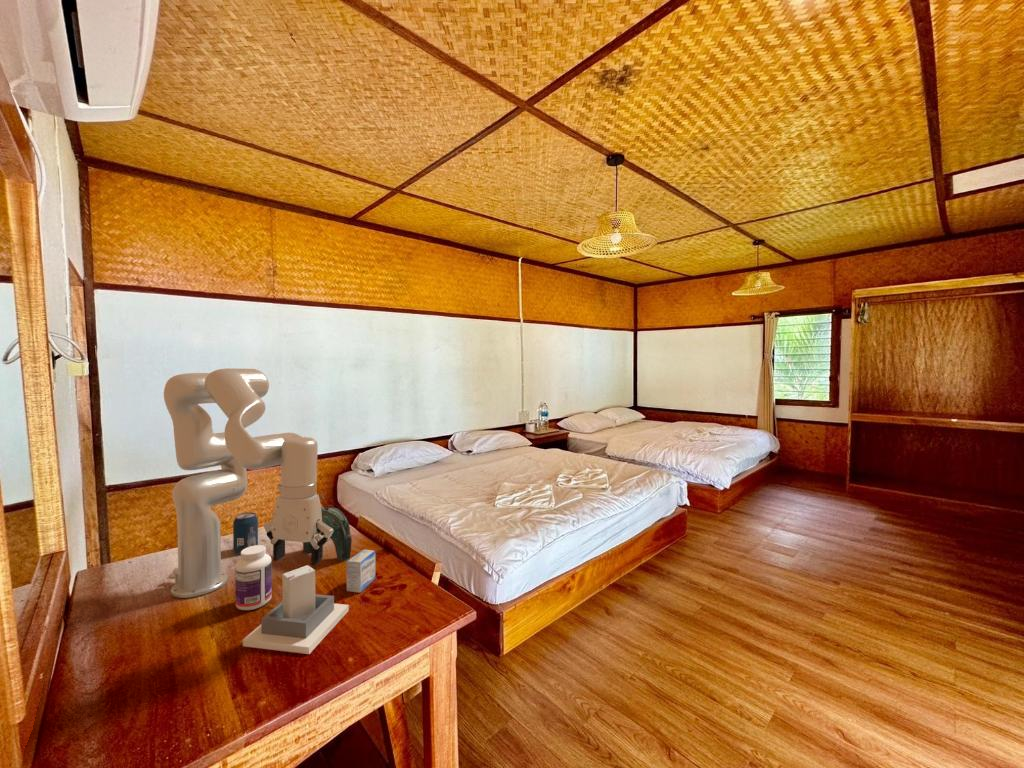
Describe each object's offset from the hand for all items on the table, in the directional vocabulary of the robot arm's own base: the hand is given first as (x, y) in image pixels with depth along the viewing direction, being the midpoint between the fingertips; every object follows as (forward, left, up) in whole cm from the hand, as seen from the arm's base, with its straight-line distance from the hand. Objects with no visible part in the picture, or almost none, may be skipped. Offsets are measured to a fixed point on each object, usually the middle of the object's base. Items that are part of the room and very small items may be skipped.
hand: (297, 560), depth 96 cm
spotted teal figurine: (-15, +36, -16) cm, 42 cm away
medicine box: (+6, +20, -16) cm, 26 cm away
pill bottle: (-17, +7, -16) cm, 25 cm away
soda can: (-43, +34, -16) cm, 57 cm away
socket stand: (+1, 0, -16) cm, 16 cm away
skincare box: (0, 0, -15) cm, 15 cm away
